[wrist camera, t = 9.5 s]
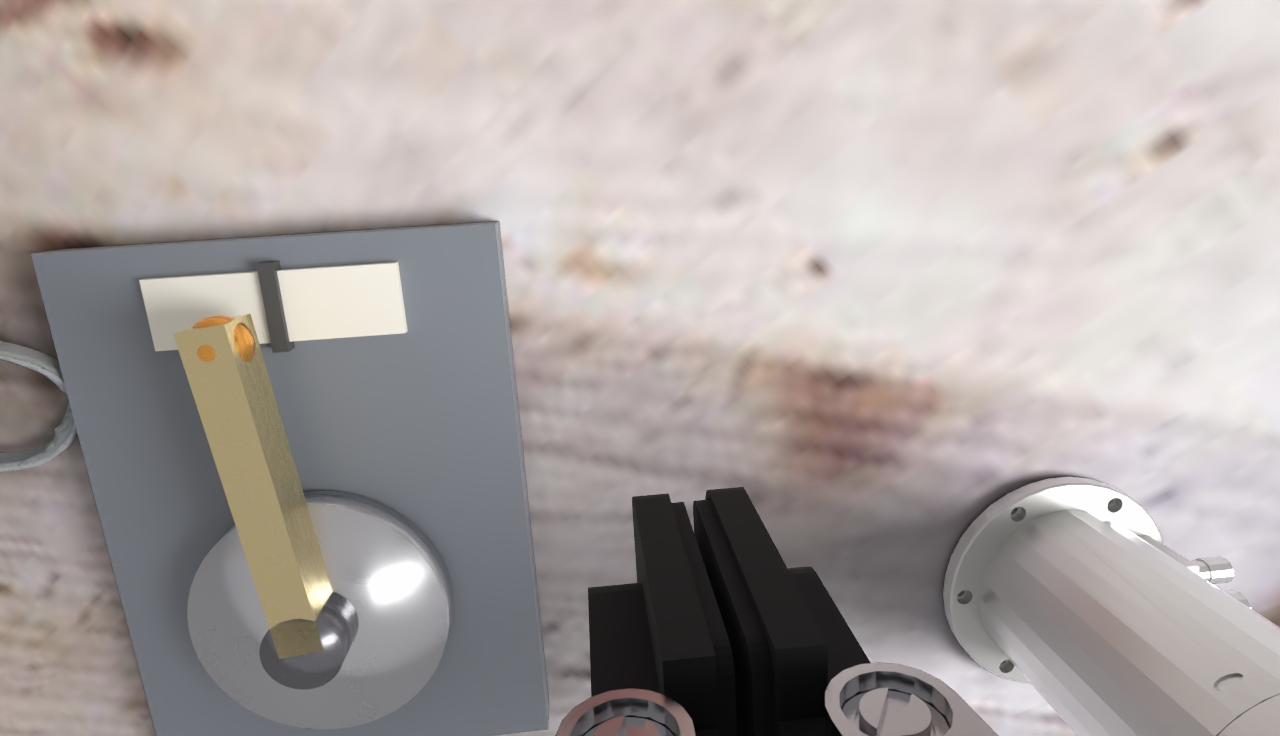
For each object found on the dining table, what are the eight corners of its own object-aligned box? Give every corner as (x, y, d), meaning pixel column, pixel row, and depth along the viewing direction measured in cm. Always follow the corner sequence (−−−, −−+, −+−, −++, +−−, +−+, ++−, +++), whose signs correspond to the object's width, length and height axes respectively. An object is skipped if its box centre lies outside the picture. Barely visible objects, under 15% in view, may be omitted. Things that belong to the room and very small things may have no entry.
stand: (499, 221, 36) (493, 225, 33) (549, 704, 43) (547, 740, 40) (60, 249, 35) (17, 255, 32) (184, 743, 42) (157, 782, 39)
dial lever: (475, 680, 40) (464, 740, 35) (245, 724, 39) (206, 790, 35) (376, 281, 34) (348, 296, 30) (106, 326, 34) (40, 347, 29)
